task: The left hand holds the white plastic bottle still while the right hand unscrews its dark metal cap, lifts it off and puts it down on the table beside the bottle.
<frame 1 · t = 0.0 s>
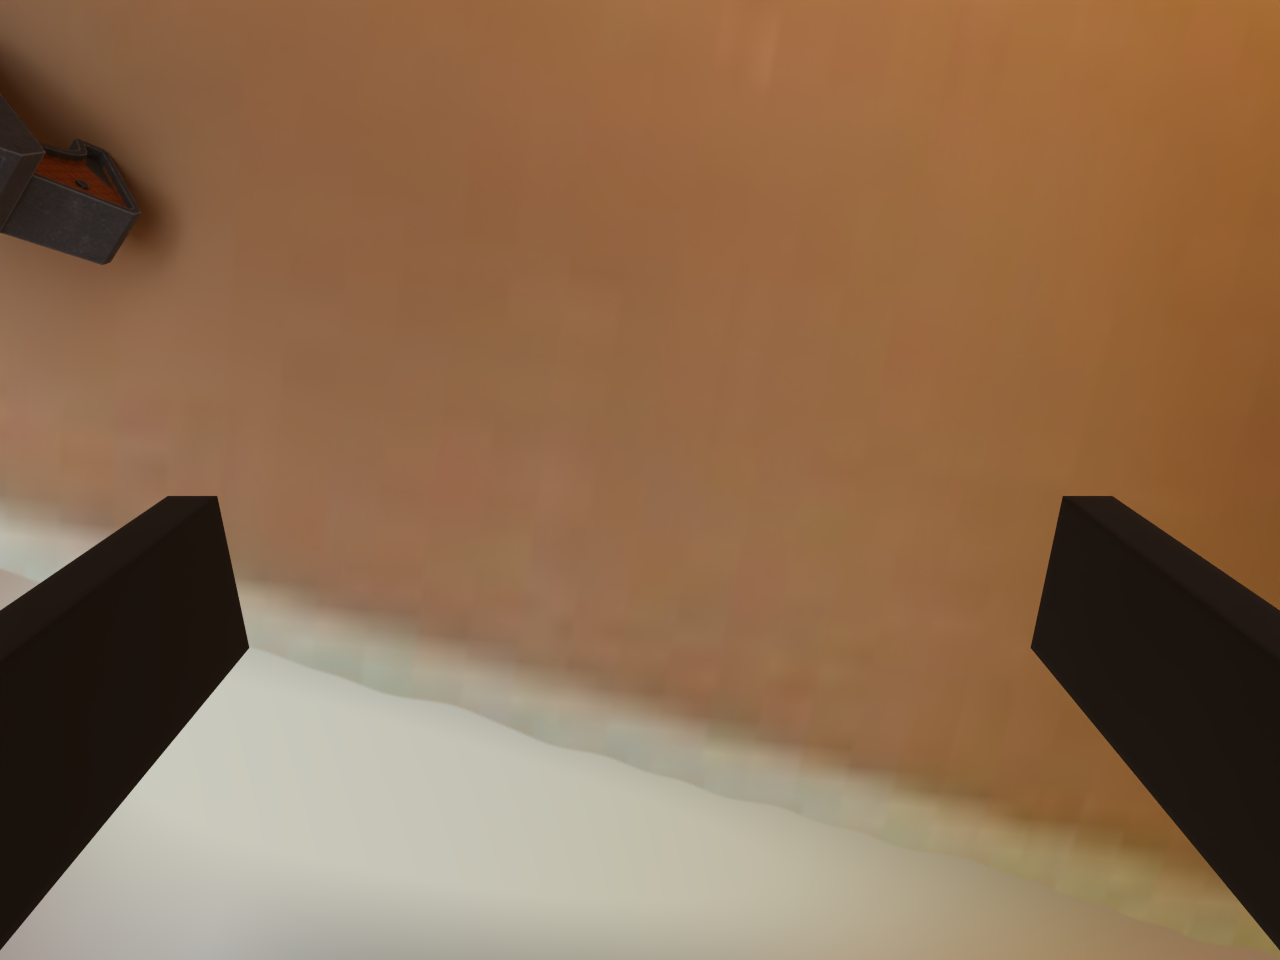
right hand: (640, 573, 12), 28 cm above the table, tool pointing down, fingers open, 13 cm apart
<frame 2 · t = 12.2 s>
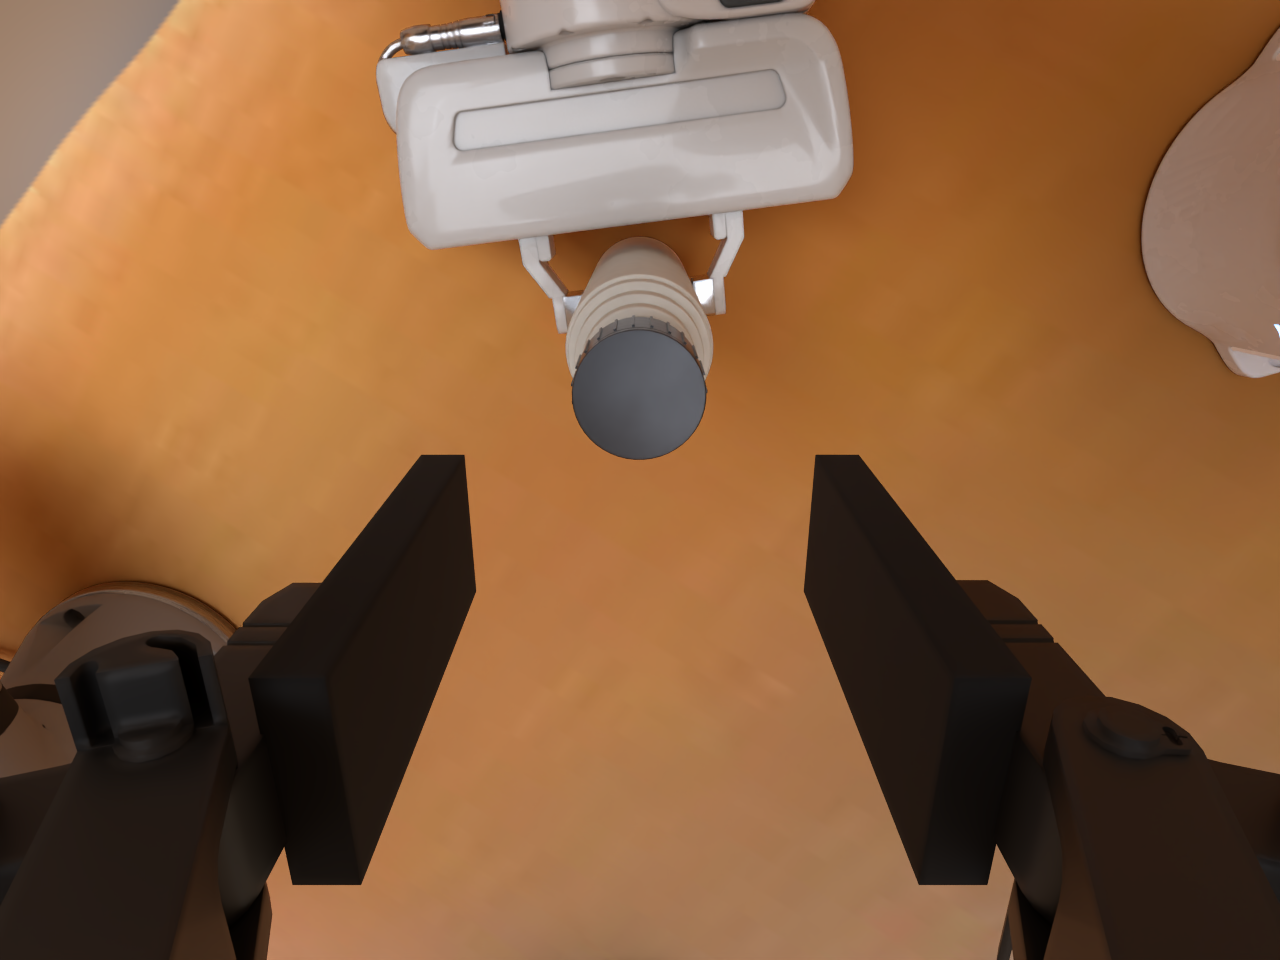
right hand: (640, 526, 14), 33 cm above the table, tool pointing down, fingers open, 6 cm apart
left hand: (642, 322, 38), fingers closed on bottle, 5 cm apart
cap: (639, 394, 23), point 23 cm above the table, screwed on, not yet turned
bottle: (639, 285, 44), on the table, touching left hand
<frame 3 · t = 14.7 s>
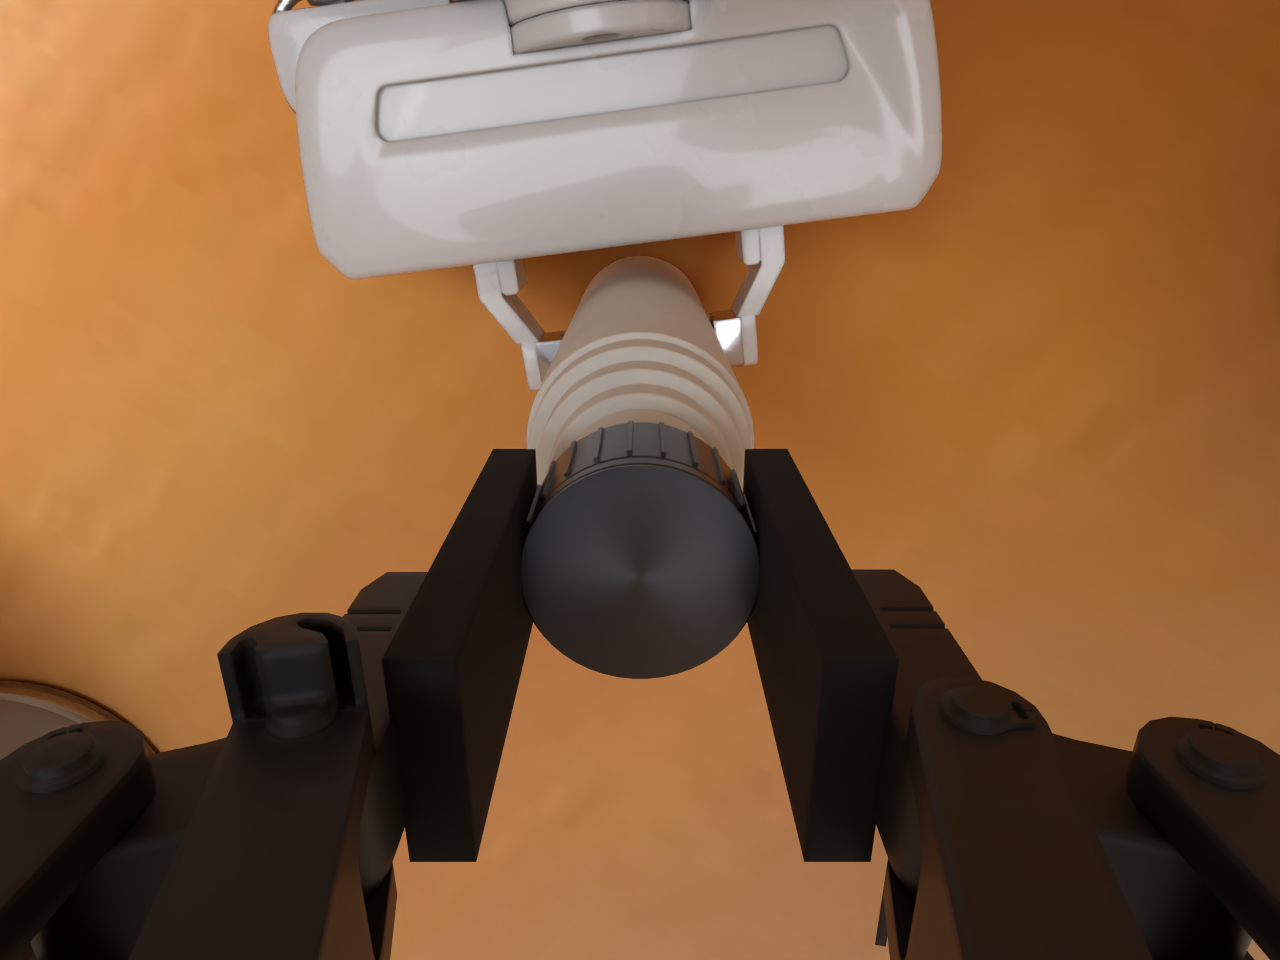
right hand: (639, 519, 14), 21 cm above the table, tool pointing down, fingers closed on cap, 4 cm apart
left hand: (644, 374, 29), fingers closed on bottle, 5 cm apart
cap: (640, 568, 13), point 23 cm above the table, screwed on, not yet turned, touching right hand
bottle: (640, 318, 34), on the table, touching left hand
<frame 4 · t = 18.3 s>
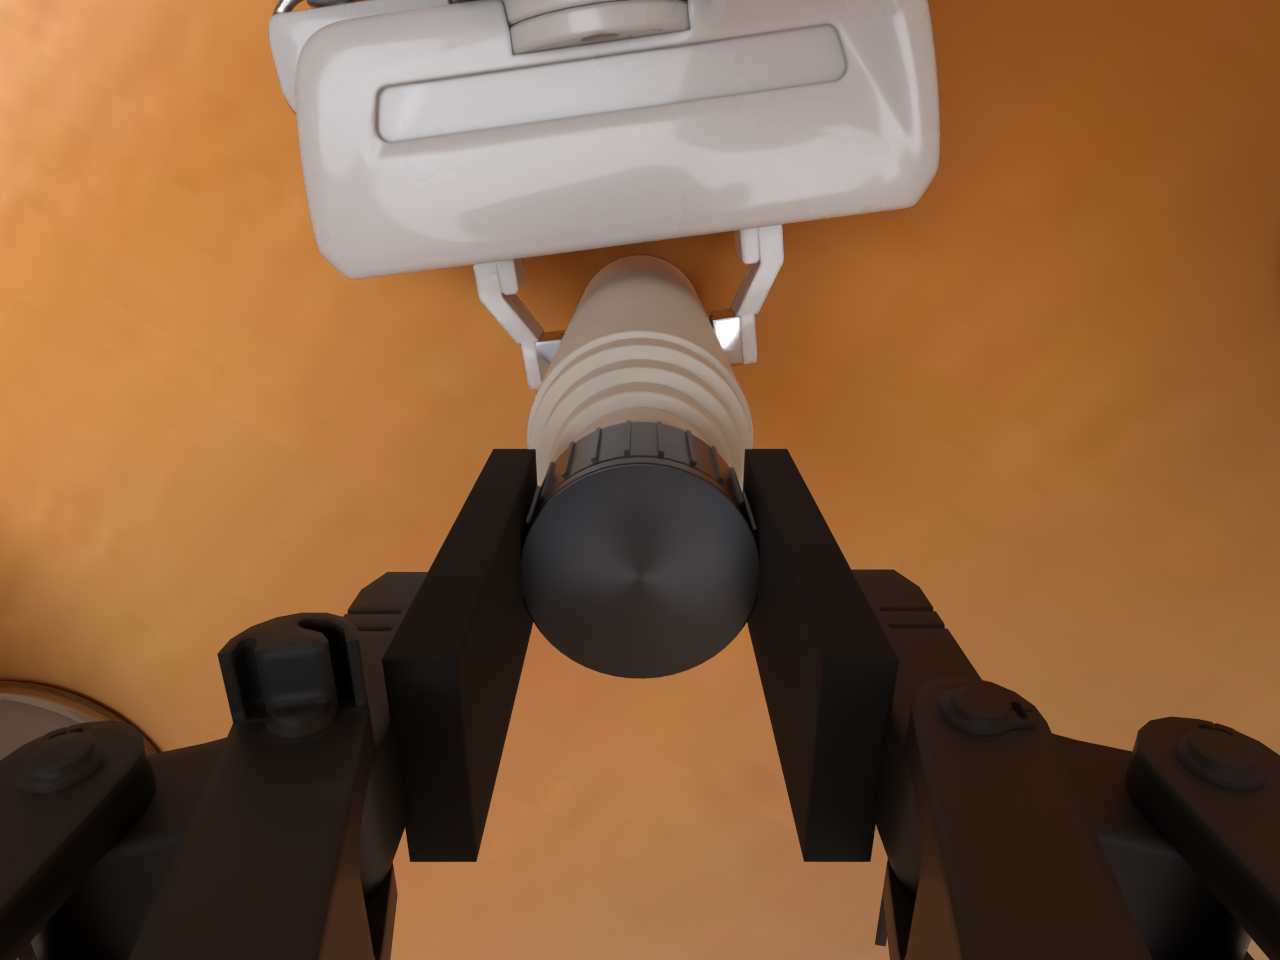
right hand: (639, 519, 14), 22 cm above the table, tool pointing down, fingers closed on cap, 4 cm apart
left hand: (644, 373, 29), fingers closed on bottle, 5 cm apart
cap: (640, 568, 13), point 23 cm above the table, turned 110° so far, risen 0.1 cm, still on its thread, touching right hand
bottle: (640, 317, 35), on the table, touching left hand
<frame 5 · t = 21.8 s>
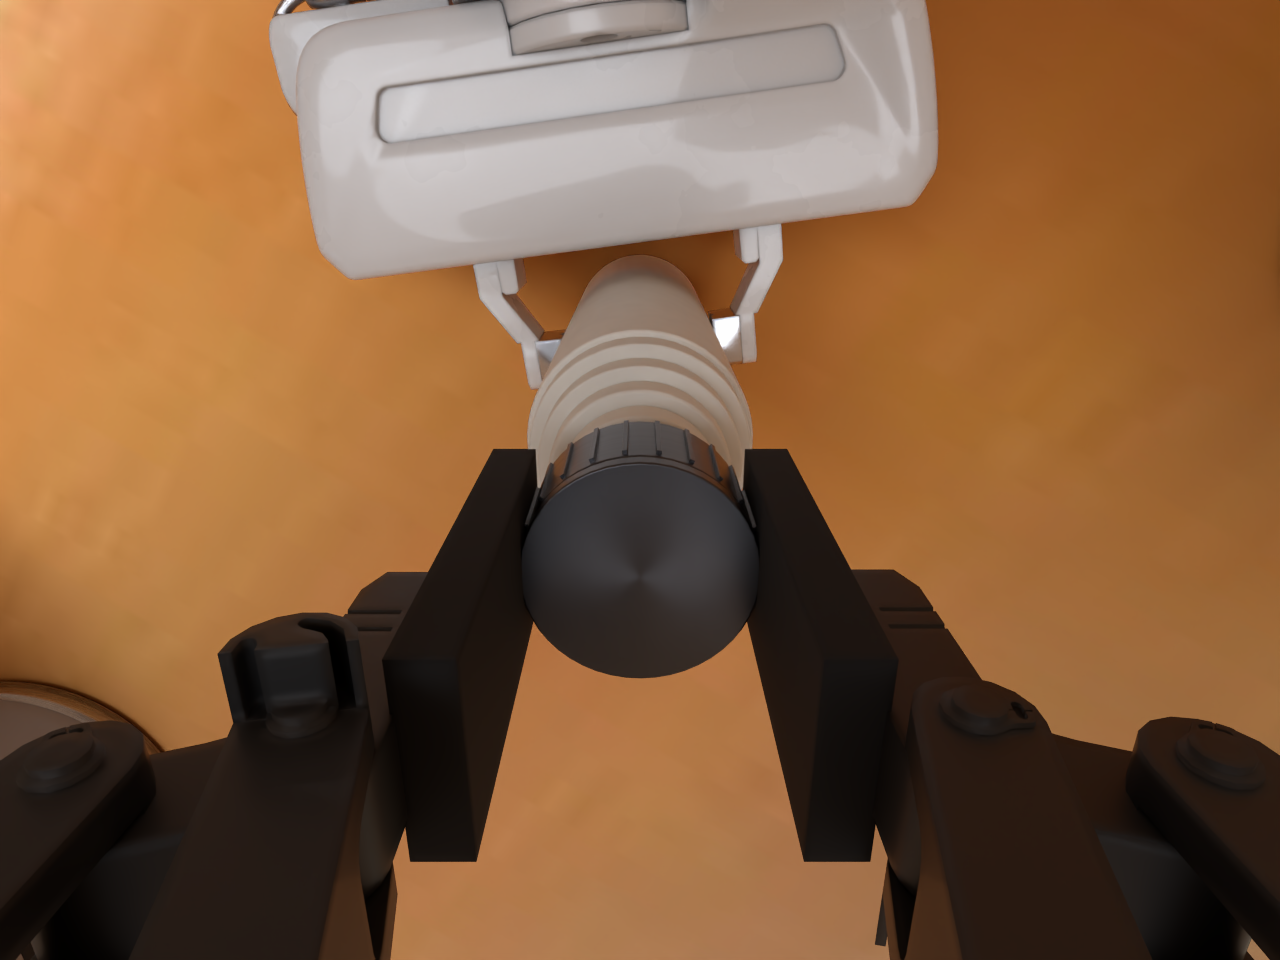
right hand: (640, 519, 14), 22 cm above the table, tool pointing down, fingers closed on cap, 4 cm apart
left hand: (644, 372, 29), fingers closed on bottle, 5 cm apart
cap: (640, 568, 13), point 24 cm above the table, turned 221° so far, risen 0.2 cm, still on its thread, touching right hand
bottle: (639, 317, 35), on the table, touching left hand
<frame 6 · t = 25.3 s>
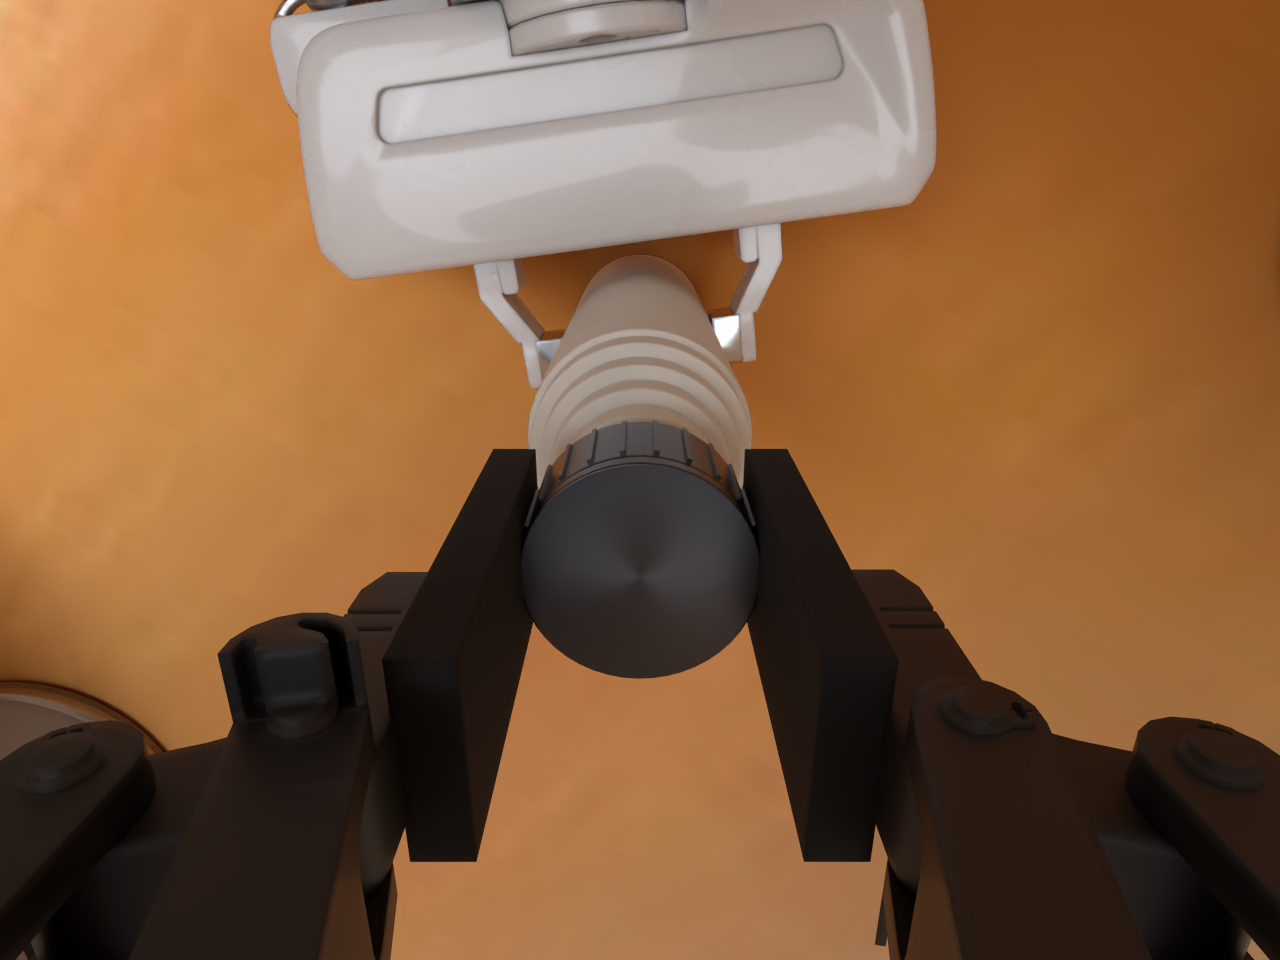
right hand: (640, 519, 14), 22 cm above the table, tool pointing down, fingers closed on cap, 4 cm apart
left hand: (644, 372, 29), fingers closed on bottle, 5 cm apart
cap: (640, 568, 13), point 24 cm above the table, turned 331° so far, risen 0.3 cm, still on its thread, touching right hand
bottle: (639, 316, 35), on the table, touching left hand
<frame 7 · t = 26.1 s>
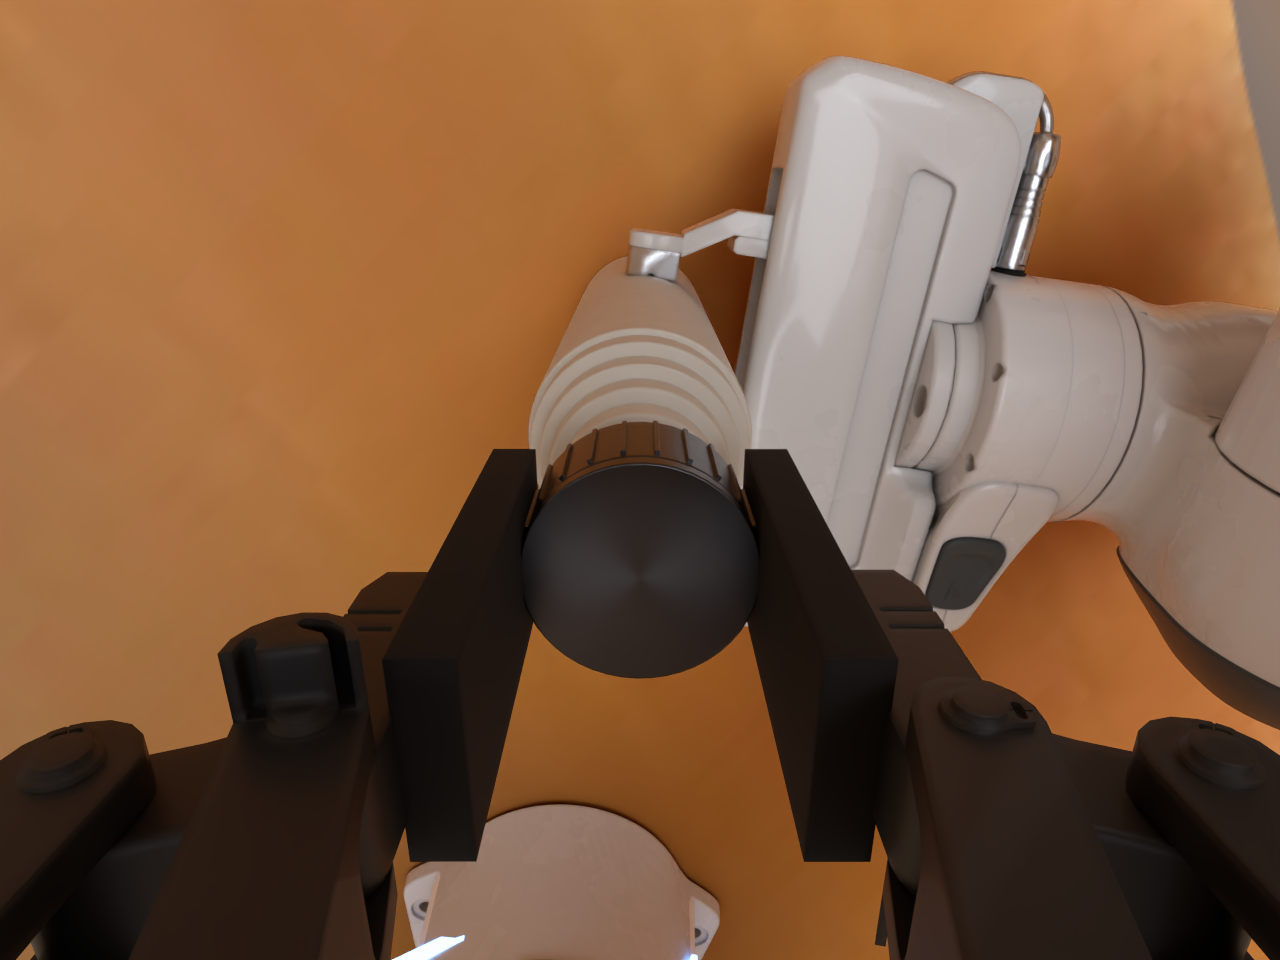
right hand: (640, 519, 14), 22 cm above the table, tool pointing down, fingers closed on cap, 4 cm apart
left hand: (615, 346, 29), fingers closed on bottle, 5 cm apart
cap: (640, 568, 13), point 24 cm above the table, off its thread, touching right hand
bottle: (640, 316, 35), on the table, touching left hand
when the right hand's fingers open (1 cm above the table, at t = 31.5 s): cap drops 1 cm, point 2 cm above the table.
when the left hand's fingers open (7 cm above the table, at t = 32.8 s): bottle stays where it is, on the table.
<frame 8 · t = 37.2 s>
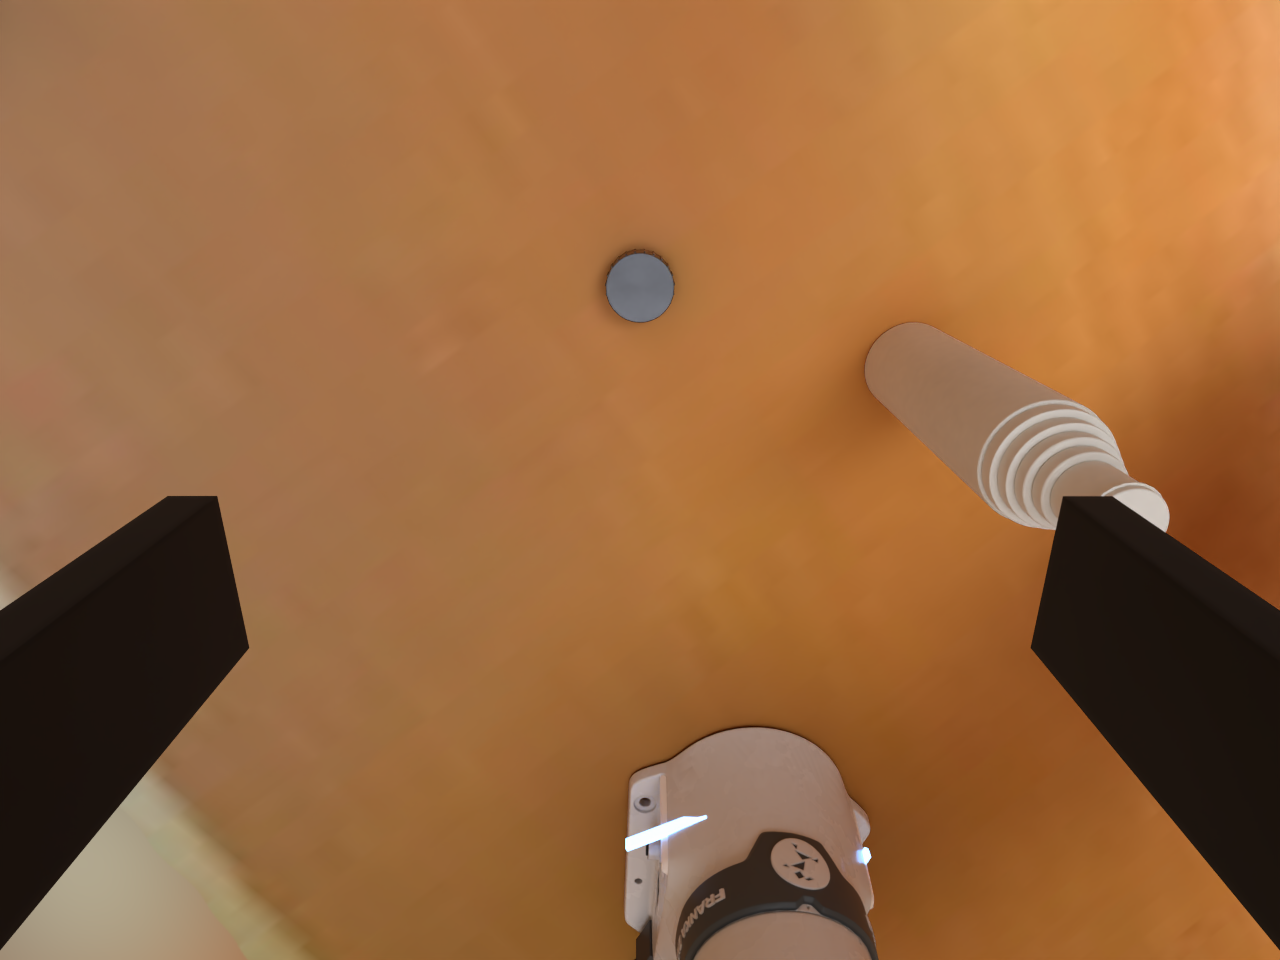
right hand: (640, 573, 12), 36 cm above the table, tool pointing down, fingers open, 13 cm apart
cap: (640, 287, 44), point 2 cm above the table, off its thread
bottle: (908, 366, 48), on the table
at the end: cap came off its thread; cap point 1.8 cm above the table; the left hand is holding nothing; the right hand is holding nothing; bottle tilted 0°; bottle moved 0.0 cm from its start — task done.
